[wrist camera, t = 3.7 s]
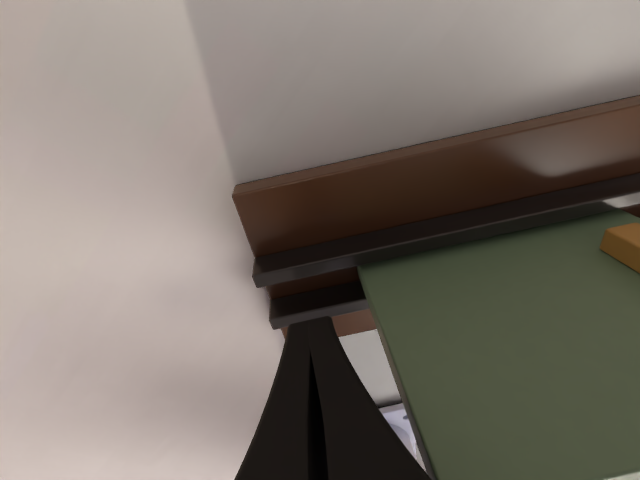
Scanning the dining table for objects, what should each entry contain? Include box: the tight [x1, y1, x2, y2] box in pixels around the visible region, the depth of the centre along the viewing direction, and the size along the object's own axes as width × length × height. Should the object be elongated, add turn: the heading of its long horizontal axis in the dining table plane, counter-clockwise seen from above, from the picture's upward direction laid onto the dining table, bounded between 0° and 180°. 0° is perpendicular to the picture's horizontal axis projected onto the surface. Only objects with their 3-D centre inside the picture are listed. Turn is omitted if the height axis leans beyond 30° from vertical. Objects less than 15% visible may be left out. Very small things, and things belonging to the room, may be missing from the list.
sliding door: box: [357, 209, 640, 480], centre depth 9 cm, size 2×10×8 cm, turn 101°
